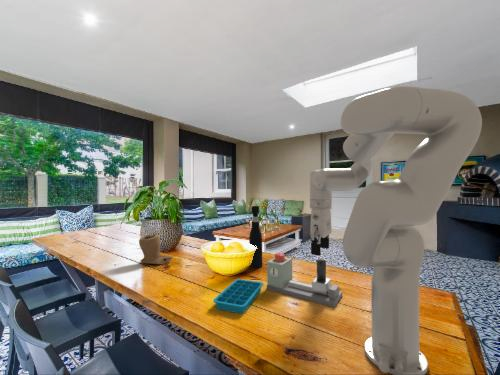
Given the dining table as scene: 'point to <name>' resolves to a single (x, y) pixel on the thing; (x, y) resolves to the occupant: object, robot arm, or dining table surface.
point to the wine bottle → (256, 239)
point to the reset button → (280, 257)
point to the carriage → (321, 279)
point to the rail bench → (307, 294)
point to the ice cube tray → (238, 295)
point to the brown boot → (152, 250)
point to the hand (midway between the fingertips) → (320, 251)
